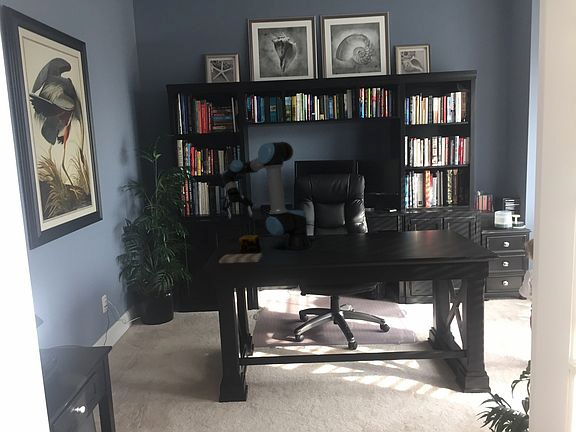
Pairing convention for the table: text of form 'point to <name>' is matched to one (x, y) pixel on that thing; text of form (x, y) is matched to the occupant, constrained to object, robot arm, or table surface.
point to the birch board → (240, 258)
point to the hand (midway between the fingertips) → (241, 216)
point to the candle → (249, 244)
